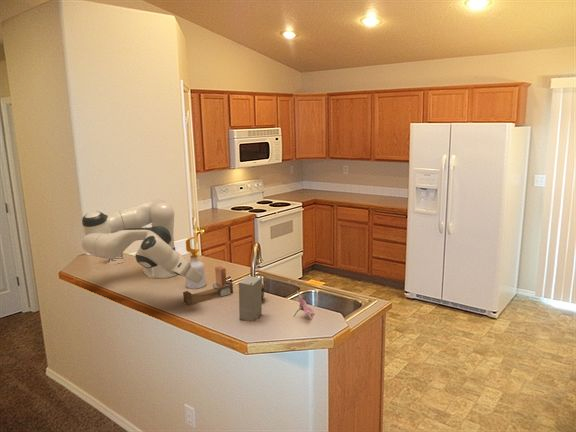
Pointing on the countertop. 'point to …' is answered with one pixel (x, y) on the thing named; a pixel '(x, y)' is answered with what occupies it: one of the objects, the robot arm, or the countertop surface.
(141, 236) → the robot arm
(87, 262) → the countertop surface
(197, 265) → the soap bottle
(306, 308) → the lily
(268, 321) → the countertop surface
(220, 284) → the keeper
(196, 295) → the rail
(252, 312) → the skincare box
